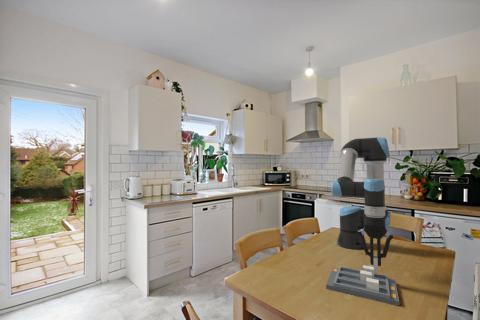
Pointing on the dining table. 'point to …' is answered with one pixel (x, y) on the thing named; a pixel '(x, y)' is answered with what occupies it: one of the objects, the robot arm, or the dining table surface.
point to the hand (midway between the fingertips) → (375, 273)
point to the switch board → (362, 285)
